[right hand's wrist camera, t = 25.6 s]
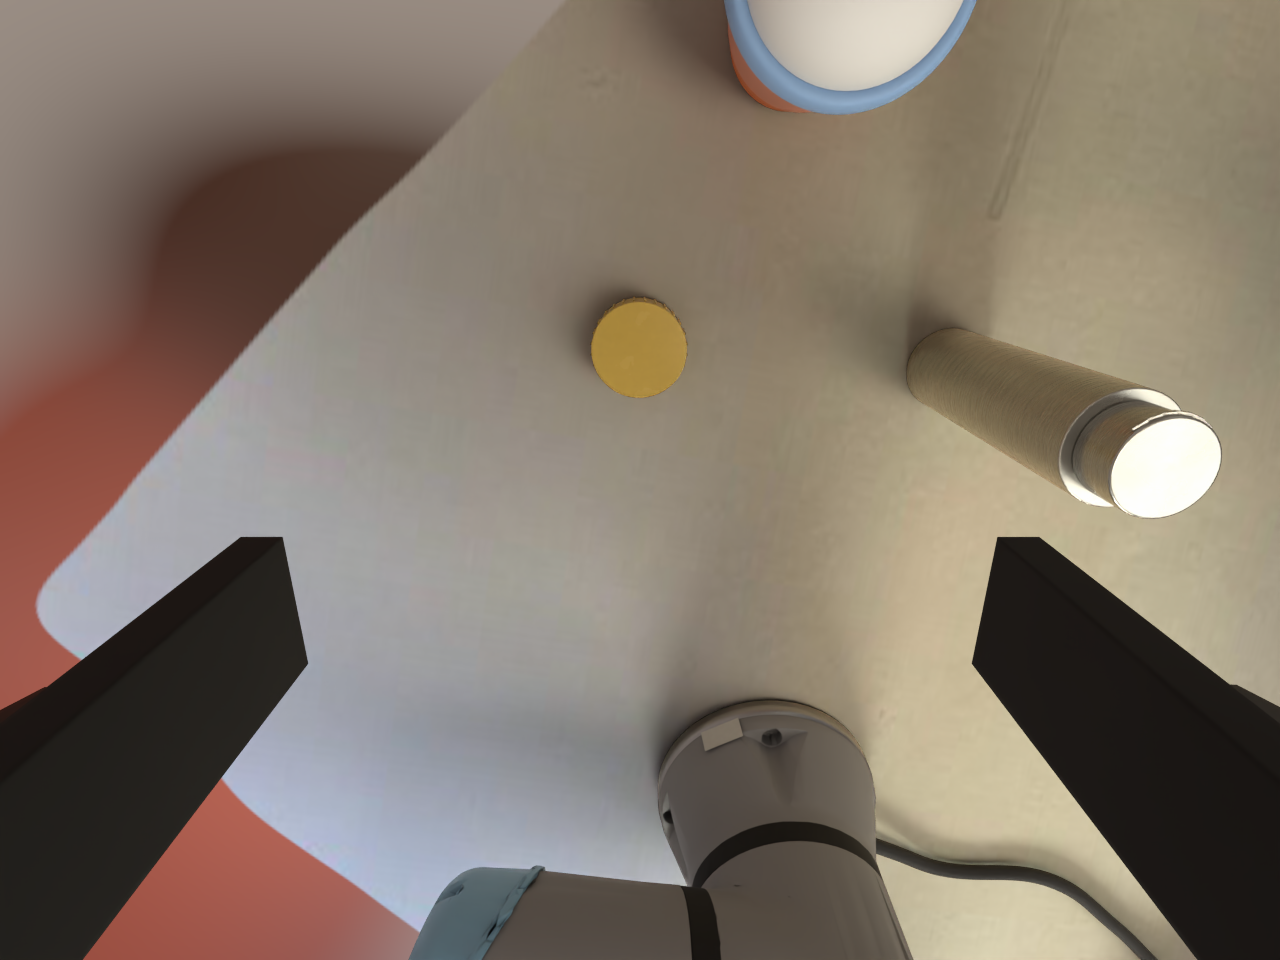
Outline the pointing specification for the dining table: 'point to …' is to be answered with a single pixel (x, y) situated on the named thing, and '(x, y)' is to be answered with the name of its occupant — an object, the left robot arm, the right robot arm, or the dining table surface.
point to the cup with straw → (839, 49)
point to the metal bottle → (1069, 423)
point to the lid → (639, 347)
